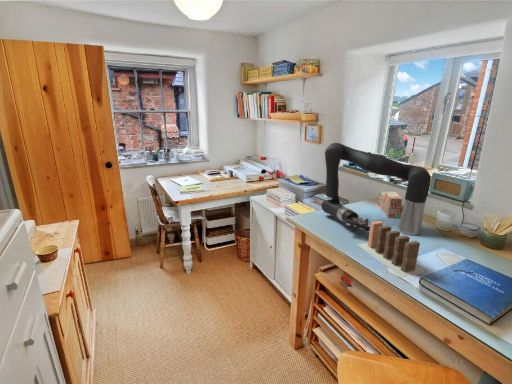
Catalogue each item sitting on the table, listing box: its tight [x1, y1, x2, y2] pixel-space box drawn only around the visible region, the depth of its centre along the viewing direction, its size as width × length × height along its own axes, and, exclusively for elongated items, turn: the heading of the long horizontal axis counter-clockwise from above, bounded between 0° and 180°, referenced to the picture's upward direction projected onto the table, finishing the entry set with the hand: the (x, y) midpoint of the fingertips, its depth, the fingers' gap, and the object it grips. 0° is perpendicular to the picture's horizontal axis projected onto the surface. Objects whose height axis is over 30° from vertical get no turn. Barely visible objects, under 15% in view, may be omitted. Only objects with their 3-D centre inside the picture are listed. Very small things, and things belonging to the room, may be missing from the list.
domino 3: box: [392, 234, 411, 266], centre depth 115 cm, size 2×5×12 cm, turn 107°
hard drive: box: [435, 253, 463, 267], centre depth 117 cm, size 2×8×12 cm
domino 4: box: [401, 240, 421, 272], centre depth 110 cm, size 2×5×12 cm, turn 107°
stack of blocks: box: [378, 191, 403, 219], centre depth 171 cm, size 21×6×12 cm, turn 172°
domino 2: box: [383, 229, 401, 259], centre depth 120 cm, size 2×5×12 cm, turn 107°
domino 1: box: [375, 225, 392, 254], centre depth 124 cm, size 2×5×12 cm, turn 107°
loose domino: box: [367, 220, 384, 248], centre depth 129 cm, size 2×5×12 cm, turn 107°
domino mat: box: [357, 242, 426, 278], centre depth 122 cm, size 27×12×1 cm, turn 17°
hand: (368, 229), depth 133 cm, fingers closed
